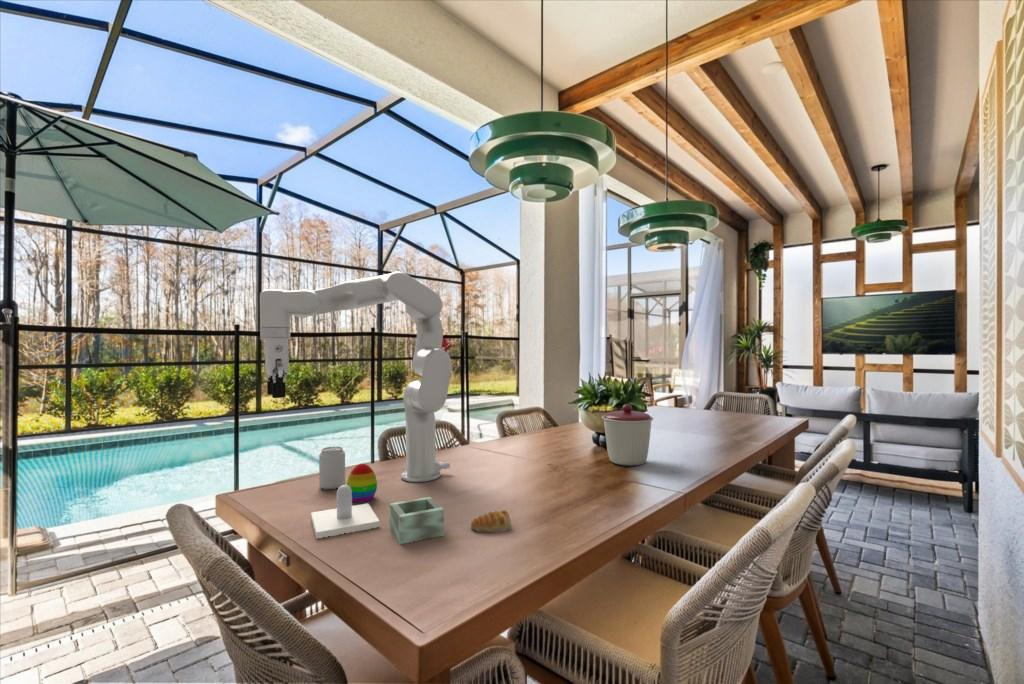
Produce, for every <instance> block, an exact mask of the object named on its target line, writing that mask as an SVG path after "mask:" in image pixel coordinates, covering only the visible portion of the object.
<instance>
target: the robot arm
mask: <svg viewBox="0 0 1024 684" xmlns="http://www.w3.org/2000/svg"><path fill="white" fill-rule="evenodd" d="M397 300H398V301H399V302H401V303H403V304H404V307H405V311H406V313H407V315H408V316H409V317H410V318H411V319H412V321H413V322H414V324H415V326H416V330H417V331H416V341H415V347H414V351H413V352H414V353H413V358H412V362H411V365H412V369H413V372H414V373H415V374H417V375H419V376H421V377H420V379H416V380H414V381H411V382H410V383H408V384H407V385H406V387H405V388H404V392H403V394H402V395H403V407H404V413H405V415H404V416H405V462H406V464H405V471H403V472H402V473H401V479H402V480H403V481H406V482H409V483H410V482H411V483H423V482H431V481H434V480H436V479H438V478H440V476H441V470H443V469H444V470H448V469H450V467H451V463H450V462H448V461H447V462H444V461H440V462H438V461H437V459H436V458H437V457H436V415H435V413H436V412H438V411H440V410H441V409H442V408H443V407H444V406H445V403H446V401H447V398H448V393H449V392H448V391H449V387H450V381H451V373H452V367H453V366H452V359H451V357H450V354H449V353H448V352H447V351H446V350H444V349H442V347H443V337H444V329H443V323H442V321H441V318H440V316H439V315H440V314H441V313H442V310H443V301H442V298H441V296H440V295H439V294H438V293H437V292H436V291H435V290H432V289H431V288H429V287H428V286H426V285H425V284H423V283H422V282H420V281H418V280H417V279H416V278H414V277H412V276H411V275H408V274H407V273H405V272H402V271H394V272H390V273H387V274H382V275H377V276H372V277H365V278H360V279H359V278H358V279H354V280H348V281H345V282H344V281H343V282H341V283H339V284H336V285H332V286H329V287H326V288H325V287H324V288H320V289H314V290H309V289H298V290H284V289H263V290H262V291H261V292H260V293H259V319H260V320H259V332H260V333H259V334H260V335H259V336H260V338H259V340H261V341H264V365H265V373H266V374H267V382H266V384H267V385H266V388H267V389H266V391H267V392H266V393H267V395H268V396H271V397H272V398H273V399H282V398H283V399H285V398H286V396H287V395H286V393H287V392H286V389H287V388H286V377H285V376H289V374H290V362H289V361H290V359H289V345H288V340H291V315H293V316H294V317H296V318H301V319H303V318H308V317H313V316H318V315H319V316H320V315H323V314H327V313H333V312H339V311H351V310H356V309H361V308H366V307H370V306H375V305H379V304H384V303H389V302H394V301H397Z"/></svg>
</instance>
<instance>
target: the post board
mask: <svg viewBox="0 0 1024 684" xmlns="http://www.w3.org/2000/svg"><path fill="white" fill-rule="evenodd" d="M336 490H337V491H336V508H331V509H325V510H320V511H312V512H310V516H311V517H310V519H311V523H312V527H313V530H314V534H315V539H316V540H318V538H319V539H323V537H325V538H329V537H328V536H330V537H335V536H339V535H340V534H341V535H345V534H344V533H346V534H351V533H356V531H357V532H361V531H367V530H371V529H372V528H373V529H377V527H378V528H380V520H379V518H378V516H377V515H376V513H375V512H374V509H372V507H371V505H370V504H369V502H367V503H363V504H356V505H353V503H352V502H353V501H352V490H351V488H350V487H349V486H348V485H347V484H344V485H342V486H340V487H339V488H338V489H336ZM373 529H372V530H373ZM350 532H351V533H350Z"/></svg>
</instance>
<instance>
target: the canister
mask: <svg viewBox="0 0 1024 684" xmlns="http://www.w3.org/2000/svg"><path fill="white" fill-rule="evenodd" d="M621 409H622V410H613V411H609V412H606V413H605V414H603V415H602V416H601V419H603V424H604V425H603V426H604V432H605V433H604V434H605V442H606V450H607V451H606V452H607V455H608V458H609V461H610V462H611V463H614V464H616V465H618V466H619V465H620V466H626V467H627V466H628V467H633V466H635V467H636V466H640V465H643V464H644V463H646V461H647V459H648V455H649V449H650V448H649V447H650V439H651V429H652V421H654V417H653V416H651V415H650V414H649V413H645V412H642V411H635V410H633V407H632V405H631V404H630V403H629V404H623V405H622V407H621Z"/></svg>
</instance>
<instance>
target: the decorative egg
mask: <svg viewBox="0 0 1024 684" xmlns="http://www.w3.org/2000/svg"><path fill="white" fill-rule="evenodd" d="M346 485H348V486H349V487H350V488H351V490H352V502H355V503H364V502H363V501H365V502H369V501H371V500H372V499H373V498H374V496H375V495H376V492H377V489H378V481H377V476H376V474H375V472H374V470H373V469H372V468H371V467H370V466H369V465H368V464H366V463H359V464H357V465H356V466H354V468H353V469H352V470H351V471H350V473H349V475H348V477H347V482H346ZM370 499H371V500H370ZM368 500H369V501H368Z"/></svg>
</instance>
